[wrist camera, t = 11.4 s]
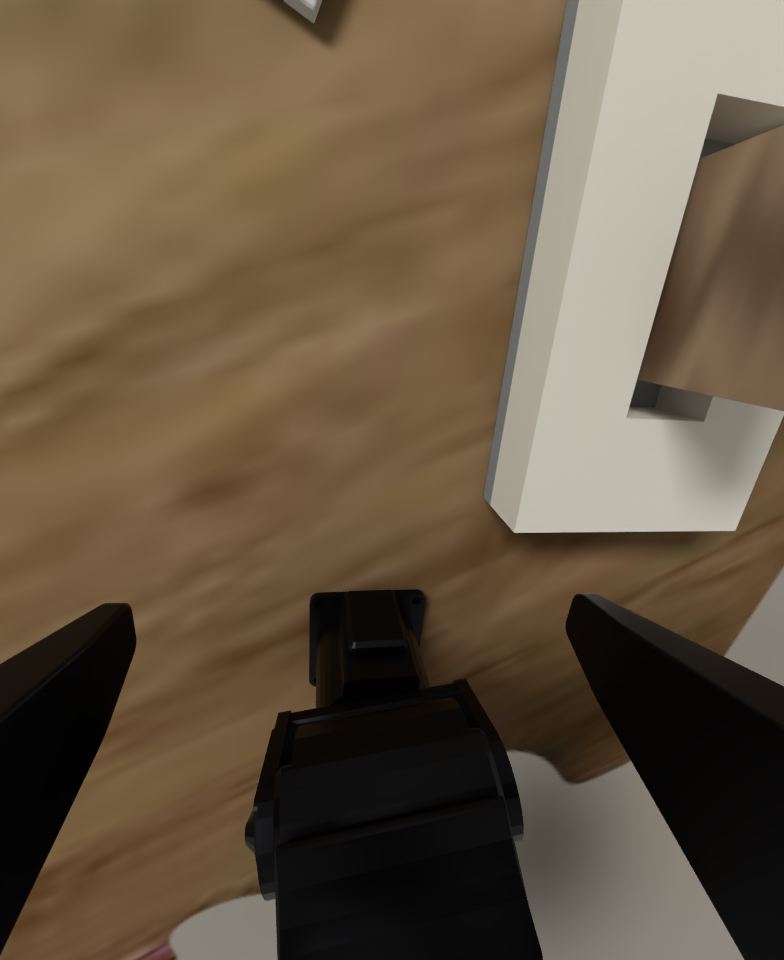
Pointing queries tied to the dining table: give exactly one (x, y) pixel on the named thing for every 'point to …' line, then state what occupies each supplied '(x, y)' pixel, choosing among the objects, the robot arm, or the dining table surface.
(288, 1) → the external hard drive
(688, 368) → the walnut plate
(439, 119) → the dining table surface
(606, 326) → the slotted board
